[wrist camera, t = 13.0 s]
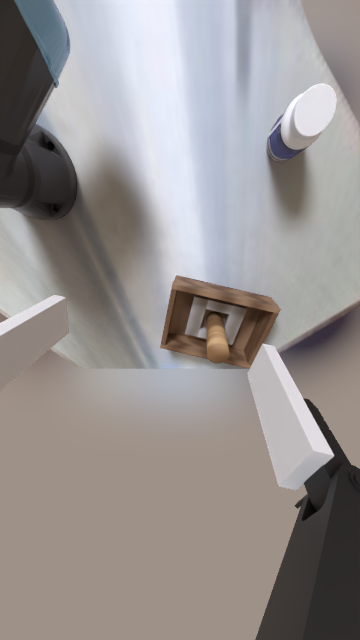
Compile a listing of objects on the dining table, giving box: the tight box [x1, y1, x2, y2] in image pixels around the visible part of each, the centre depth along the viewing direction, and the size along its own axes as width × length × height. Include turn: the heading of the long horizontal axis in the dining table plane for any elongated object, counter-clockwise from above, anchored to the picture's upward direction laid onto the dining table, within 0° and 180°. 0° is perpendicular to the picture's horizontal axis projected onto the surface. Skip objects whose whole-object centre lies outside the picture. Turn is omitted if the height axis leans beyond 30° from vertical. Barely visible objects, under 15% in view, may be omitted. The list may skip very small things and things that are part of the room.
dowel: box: [206, 311, 230, 363], centre depth 41 cm, size 4×4×14 cm
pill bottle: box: [267, 84, 336, 162], centre depth 28 cm, size 6×6×10 cm
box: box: [160, 276, 281, 369], centre depth 45 cm, size 22×16×6 cm
